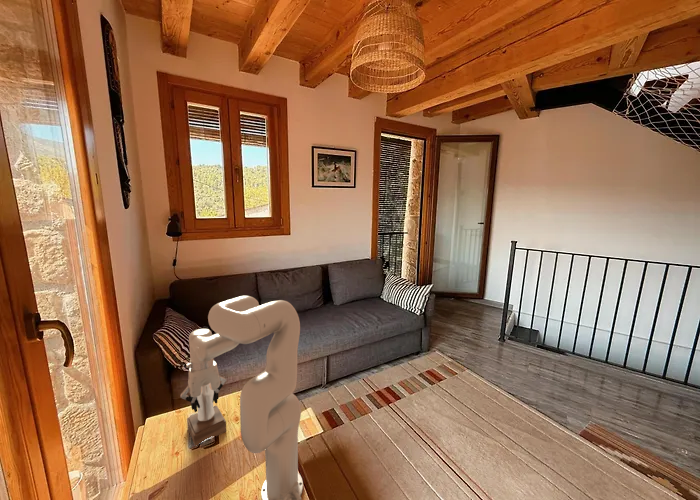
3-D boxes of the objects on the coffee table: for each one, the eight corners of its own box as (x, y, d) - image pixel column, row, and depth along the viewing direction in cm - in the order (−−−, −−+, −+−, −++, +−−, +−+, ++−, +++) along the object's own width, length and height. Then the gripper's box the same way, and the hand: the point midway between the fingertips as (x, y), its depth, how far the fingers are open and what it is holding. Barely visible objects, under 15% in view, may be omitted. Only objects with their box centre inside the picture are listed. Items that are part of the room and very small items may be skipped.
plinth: (226, 431, 110) (225, 419, 109) (195, 446, 103) (194, 434, 102) (217, 415, 118) (216, 404, 117) (187, 428, 111) (186, 417, 110)
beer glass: (193, 415, 109) (191, 379, 107) (212, 407, 114) (210, 372, 112) (198, 425, 104) (196, 389, 102) (218, 416, 109) (216, 381, 106)
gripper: (177, 376, 97) (181, 422, 100) (229, 358, 108) (232, 400, 111) (173, 366, 102) (177, 410, 105) (223, 350, 114) (225, 391, 117)
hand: (205, 405), depth 108 cm, fingers closed on beer glass, 6 cm apart
